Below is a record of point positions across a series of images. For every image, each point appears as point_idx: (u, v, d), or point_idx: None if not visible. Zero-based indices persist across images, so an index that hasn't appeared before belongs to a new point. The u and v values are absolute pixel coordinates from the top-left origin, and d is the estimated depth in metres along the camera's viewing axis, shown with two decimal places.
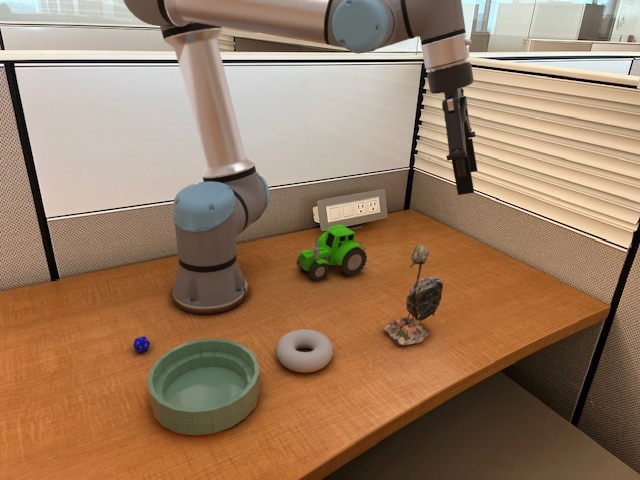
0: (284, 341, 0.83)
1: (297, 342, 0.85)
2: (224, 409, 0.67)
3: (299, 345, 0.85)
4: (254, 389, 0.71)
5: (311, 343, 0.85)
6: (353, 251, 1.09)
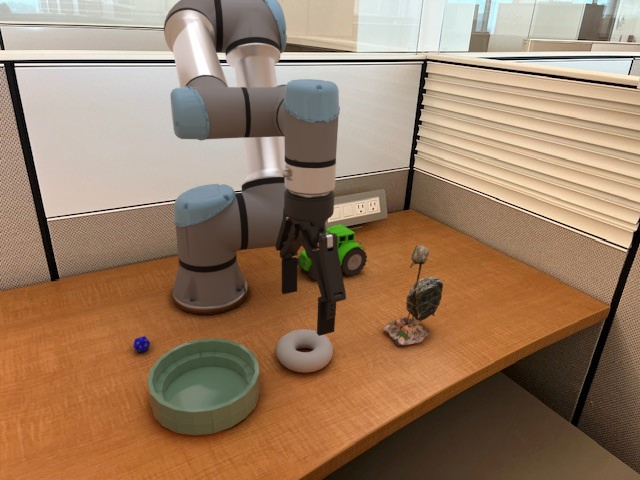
0: (284, 341, 0.83)
1: (297, 342, 0.85)
2: (224, 409, 0.67)
3: (299, 345, 0.85)
4: (254, 389, 0.71)
5: (311, 343, 0.85)
6: (353, 251, 1.09)
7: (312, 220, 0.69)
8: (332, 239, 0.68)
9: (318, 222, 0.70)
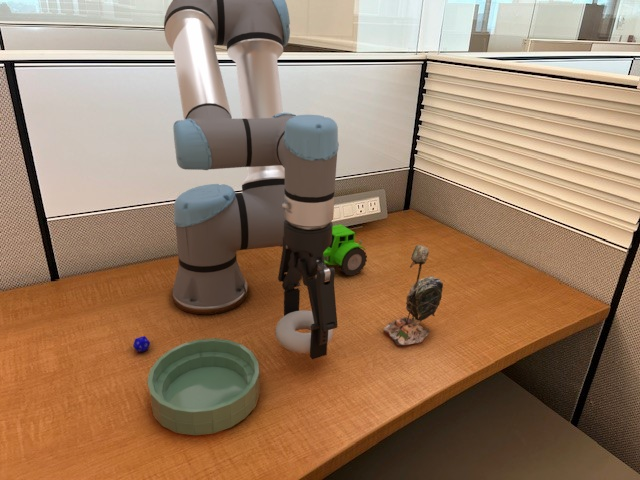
0: (284, 322, 0.82)
1: (297, 323, 0.83)
2: (224, 409, 0.67)
3: (299, 326, 0.84)
4: (254, 389, 0.71)
5: None
6: (353, 251, 1.09)
7: (311, 251, 0.72)
8: (330, 274, 0.71)
9: (316, 253, 0.72)
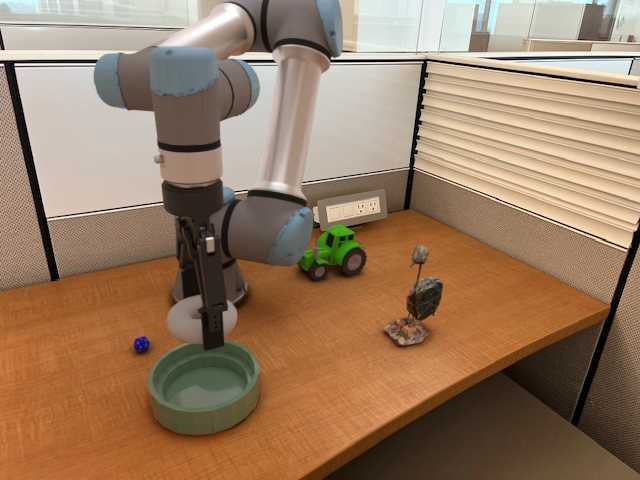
0: (177, 307, 0.68)
1: (195, 309, 0.70)
2: (224, 409, 0.67)
3: (198, 313, 0.70)
4: (254, 389, 0.71)
5: None
6: (353, 251, 1.09)
7: (191, 215, 0.58)
8: (213, 243, 0.58)
9: (199, 218, 0.59)
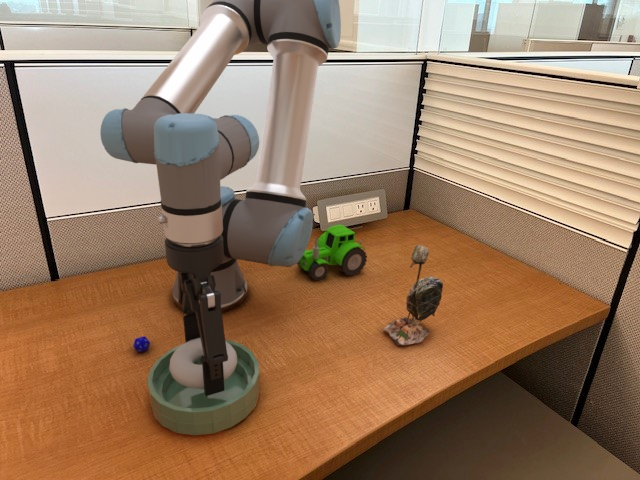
0: (179, 352, 0.71)
1: (197, 353, 0.73)
2: (224, 409, 0.67)
3: (199, 356, 0.73)
4: (254, 389, 0.71)
5: None
6: (353, 251, 1.09)
7: (193, 272, 0.61)
8: (214, 299, 0.61)
9: (200, 274, 0.62)
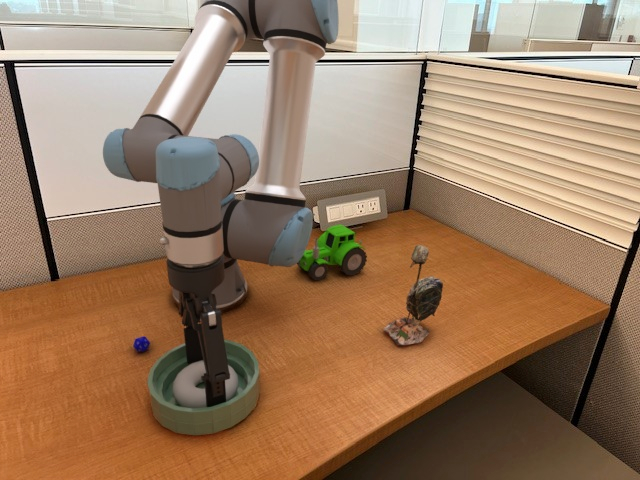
0: (182, 375, 0.73)
1: (199, 376, 0.75)
2: (224, 409, 0.67)
3: None
4: (254, 389, 0.71)
5: None
6: (353, 251, 1.09)
7: (194, 292, 0.63)
8: (215, 317, 0.62)
9: (202, 293, 0.63)
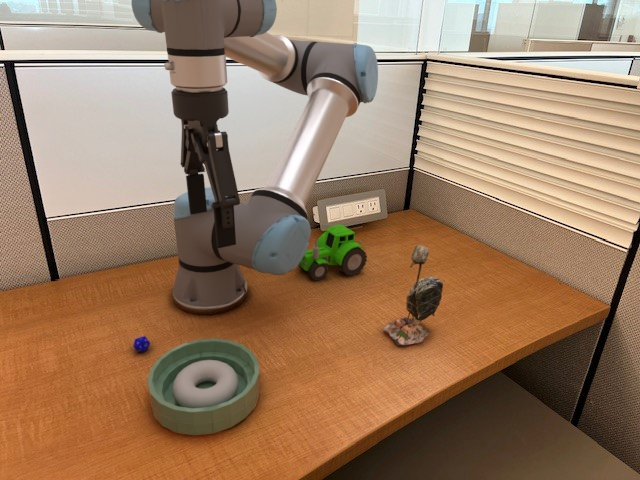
0: (182, 375, 0.73)
1: (199, 376, 0.75)
2: (224, 409, 0.67)
3: (202, 379, 0.75)
4: (254, 389, 0.71)
5: (215, 377, 0.75)
6: (353, 251, 1.09)
7: (200, 118, 0.64)
8: (221, 137, 0.63)
9: (207, 121, 0.64)
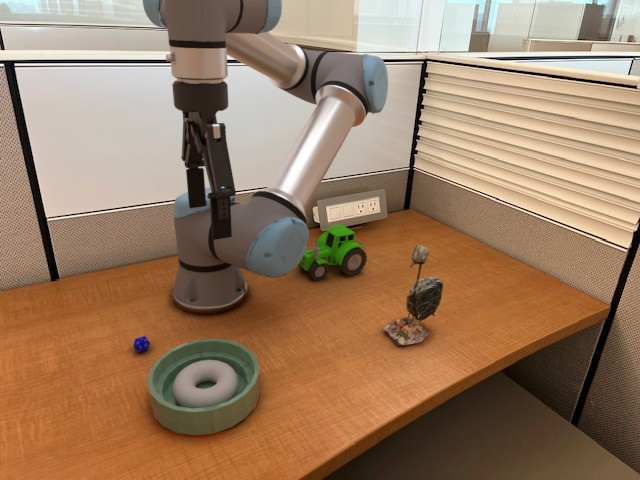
0: (182, 375, 0.73)
1: (199, 376, 0.75)
2: (224, 409, 0.67)
3: (202, 379, 0.75)
4: (254, 389, 0.71)
5: (215, 377, 0.75)
6: (353, 251, 1.09)
7: (199, 110, 0.65)
8: (219, 128, 0.64)
9: (206, 113, 0.65)
